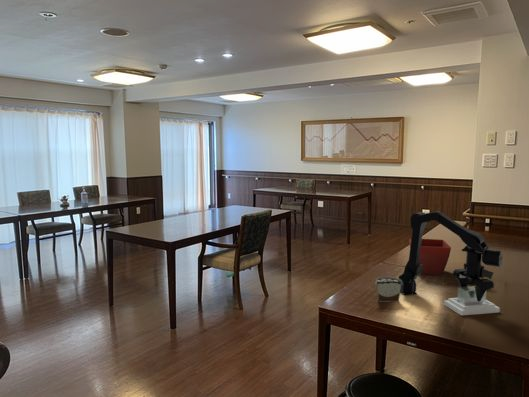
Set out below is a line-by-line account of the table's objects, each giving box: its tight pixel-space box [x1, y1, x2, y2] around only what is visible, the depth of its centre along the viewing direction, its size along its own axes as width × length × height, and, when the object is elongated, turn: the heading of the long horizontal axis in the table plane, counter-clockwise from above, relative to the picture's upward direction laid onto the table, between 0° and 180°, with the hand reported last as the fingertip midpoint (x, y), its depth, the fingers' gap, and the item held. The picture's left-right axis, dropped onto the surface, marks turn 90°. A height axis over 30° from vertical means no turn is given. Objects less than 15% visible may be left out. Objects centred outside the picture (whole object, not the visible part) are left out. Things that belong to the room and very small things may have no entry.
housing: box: [456, 285, 487, 306], centre depth 172 cm, size 5×10×7 cm, turn 100°
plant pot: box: [408, 237, 452, 276], centre depth 225 cm, size 19×19×17 cm
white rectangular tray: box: [443, 297, 501, 316], centre depth 173 cm, size 18×12×3 cm, turn 100°
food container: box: [374, 276, 403, 303], centre depth 184 cm, size 12×6×10 cm, turn 92°
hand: (471, 297), depth 172 cm, fingers open, 9 cm apart
